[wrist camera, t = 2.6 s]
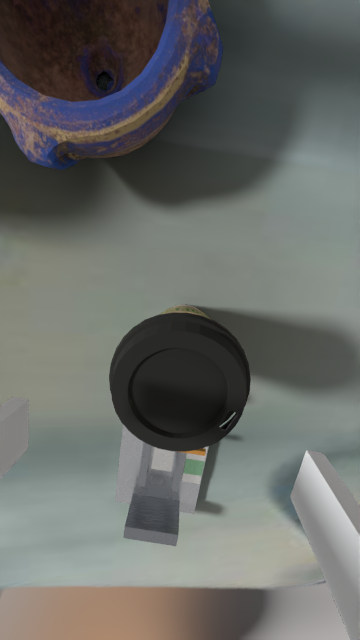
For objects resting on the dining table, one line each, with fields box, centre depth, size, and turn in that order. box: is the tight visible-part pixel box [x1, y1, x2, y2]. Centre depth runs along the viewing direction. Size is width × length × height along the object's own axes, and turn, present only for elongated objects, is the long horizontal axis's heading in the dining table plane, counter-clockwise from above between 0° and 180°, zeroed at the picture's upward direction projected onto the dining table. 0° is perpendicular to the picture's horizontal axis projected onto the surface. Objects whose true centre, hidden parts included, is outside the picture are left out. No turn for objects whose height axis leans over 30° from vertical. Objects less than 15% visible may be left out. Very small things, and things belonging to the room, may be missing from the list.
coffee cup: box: [109, 304, 250, 452], centre depth 22 cm, size 10×10×15 cm
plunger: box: [151, 447, 206, 472], centre depth 29 cm, size 11×8×5 cm
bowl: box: [0, 0, 223, 170], centre depth 18 cm, size 18×18×10 cm
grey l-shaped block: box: [115, 424, 209, 546], centre depth 31 cm, size 14×12×6 cm
